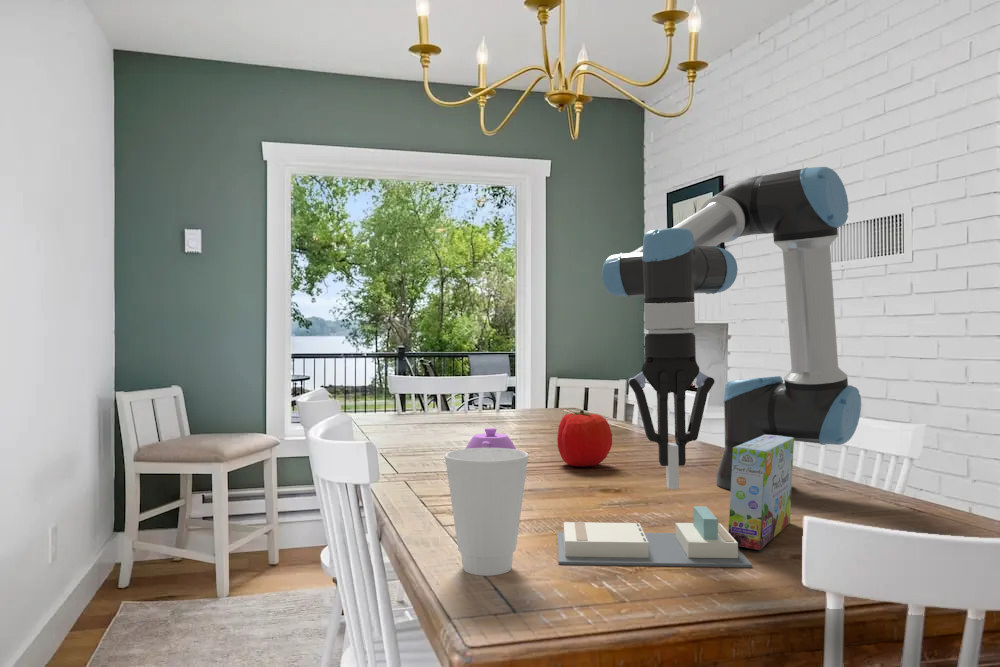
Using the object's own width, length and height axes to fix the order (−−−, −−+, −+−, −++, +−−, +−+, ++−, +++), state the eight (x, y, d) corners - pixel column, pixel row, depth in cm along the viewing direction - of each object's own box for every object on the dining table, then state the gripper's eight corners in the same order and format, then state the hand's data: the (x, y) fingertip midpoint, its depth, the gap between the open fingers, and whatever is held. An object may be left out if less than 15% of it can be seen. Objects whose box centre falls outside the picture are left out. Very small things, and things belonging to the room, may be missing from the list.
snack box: (764, 552, 111) (767, 450, 111) (726, 545, 114) (728, 446, 114) (793, 523, 129) (795, 435, 129) (759, 518, 132) (761, 432, 132)
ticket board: (725, 536, 121) (725, 519, 121) (752, 567, 105) (751, 548, 105) (557, 534, 123) (557, 517, 123) (558, 564, 107) (558, 545, 107)
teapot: (525, 466, 186) (525, 423, 185) (515, 482, 166) (515, 434, 166) (470, 464, 187) (470, 422, 187) (453, 480, 168) (453, 433, 168)
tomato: (564, 459, 194) (564, 406, 194) (617, 462, 189) (617, 408, 189) (547, 470, 179) (547, 413, 179) (604, 473, 174) (604, 415, 174)
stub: (720, 537, 118) (720, 504, 118) (737, 558, 108) (737, 522, 108) (675, 536, 119) (675, 503, 119) (688, 557, 108) (688, 521, 108)
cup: (462, 586, 98) (462, 463, 98) (433, 561, 108) (433, 450, 108) (544, 574, 102) (543, 457, 102) (508, 551, 113) (507, 445, 113)
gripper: (708, 330, 117) (710, 481, 117) (623, 332, 118) (626, 482, 118) (718, 331, 109) (721, 492, 110) (628, 333, 110) (632, 493, 111)
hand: (672, 486), depth 114 cm, fingers closed
